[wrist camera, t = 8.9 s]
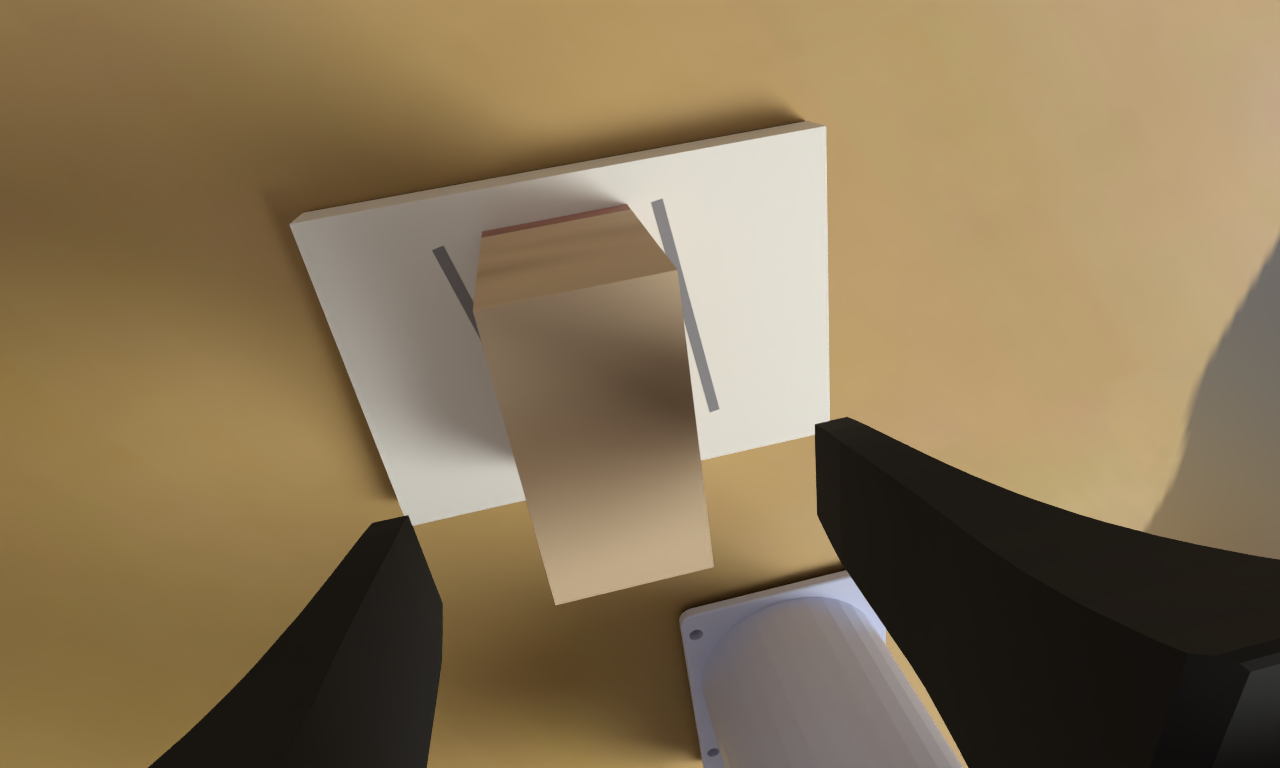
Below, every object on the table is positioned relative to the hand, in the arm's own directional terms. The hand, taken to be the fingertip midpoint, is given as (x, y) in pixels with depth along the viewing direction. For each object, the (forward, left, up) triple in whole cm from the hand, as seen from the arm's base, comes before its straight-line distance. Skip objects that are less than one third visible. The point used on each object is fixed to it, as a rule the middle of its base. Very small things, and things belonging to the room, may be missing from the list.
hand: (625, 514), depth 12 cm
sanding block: (0, 0, -7) cm, 7 cm away
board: (0, 0, -8) cm, 8 cm away
